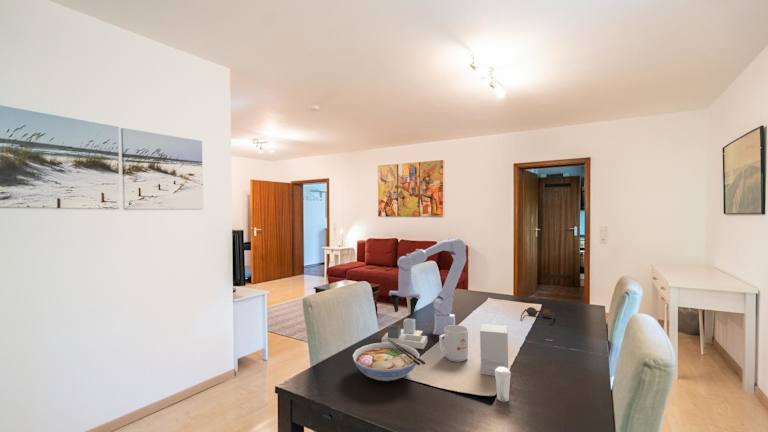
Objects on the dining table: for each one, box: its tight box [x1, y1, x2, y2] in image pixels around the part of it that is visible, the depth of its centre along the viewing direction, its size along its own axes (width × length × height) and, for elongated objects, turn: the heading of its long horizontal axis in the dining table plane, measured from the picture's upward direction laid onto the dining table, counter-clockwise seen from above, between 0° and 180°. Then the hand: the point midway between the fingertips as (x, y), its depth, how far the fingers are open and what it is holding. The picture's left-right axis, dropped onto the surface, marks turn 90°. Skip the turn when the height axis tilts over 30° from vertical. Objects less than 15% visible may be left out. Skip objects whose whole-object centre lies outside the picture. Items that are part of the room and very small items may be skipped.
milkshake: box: [493, 366, 512, 403], centre depth 102 cm, size 4×5×10 cm
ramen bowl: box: [352, 339, 426, 382], centre depth 117 cm, size 25×23×8 cm
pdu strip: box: [381, 324, 428, 350], centre depth 147 cm, size 18×8×7 cm, turn 72°
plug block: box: [402, 318, 416, 335], centre depth 158 cm, size 4×4×6 cm
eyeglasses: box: [520, 306, 555, 327], centre depth 178 cm, size 15×15×5 cm
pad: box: [401, 328, 423, 336], centre depth 158 cm, size 10×10×1 cm
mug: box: [438, 324, 469, 363], centre depth 131 cm, size 12×9×11 cm
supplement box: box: [479, 323, 509, 377], centre depth 120 cm, size 9×9×15 cm
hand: (404, 312), depth 156 cm, fingers open, 7 cm apart
